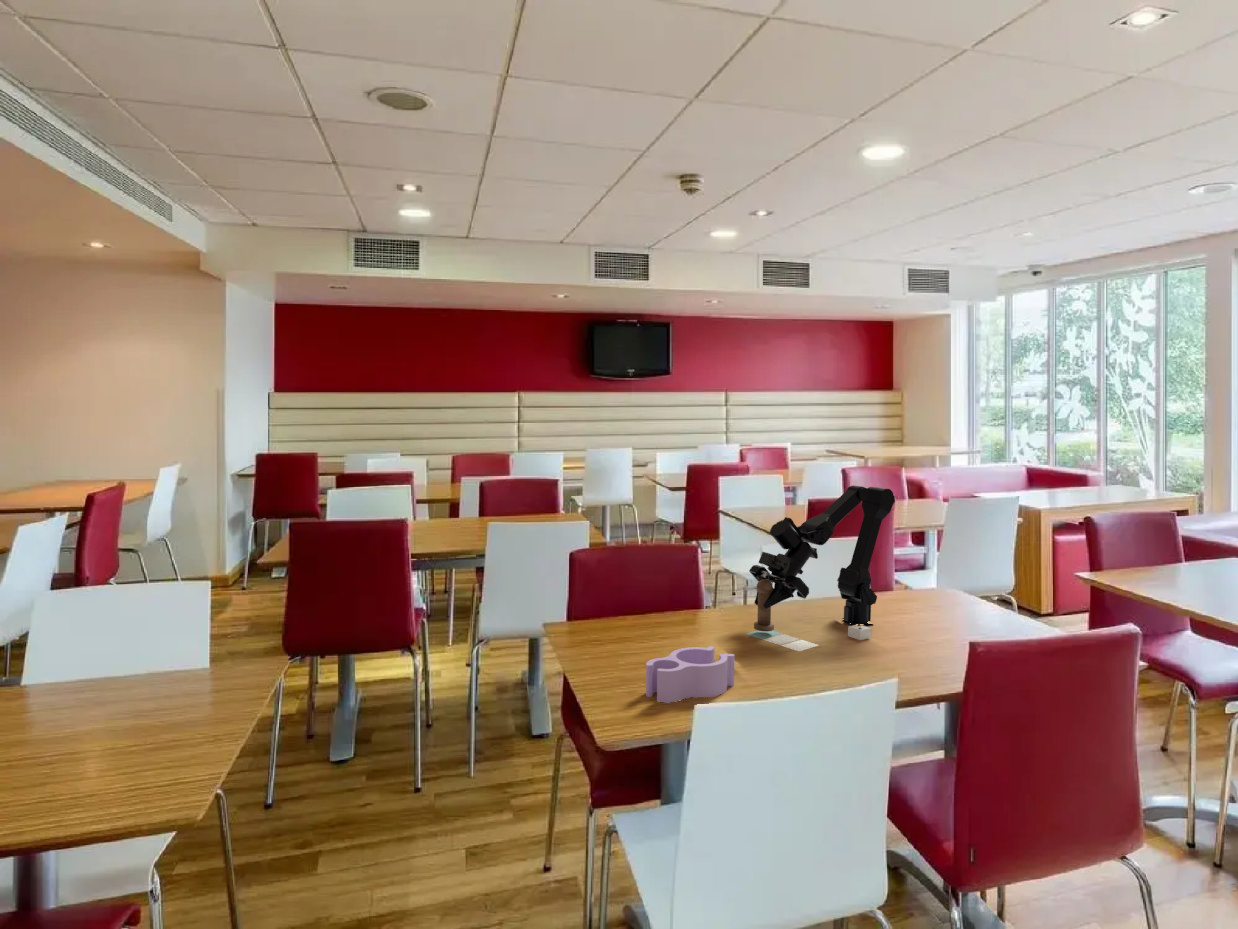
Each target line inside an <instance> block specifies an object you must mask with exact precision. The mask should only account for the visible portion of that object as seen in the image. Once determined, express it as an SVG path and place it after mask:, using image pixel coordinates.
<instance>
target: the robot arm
mask: <svg viewBox="0 0 1238 929" xmlns="http://www.w3.org/2000/svg"><path fill="white" fill-rule="evenodd" d="M895 496H896V495H894V492H893V491H892V490H891V489H890V488H884V487H877V486H868V487H865V486H859V485H854V484H853V485H850V486H848V487H847V489H846V491H845V492H844V493H842V495H840V496H839V497H838V498H837V499H836V500H835V501H834V502H833V503H832V504H831V505H829V506H828V507H827V508H826V509H825V510H824V511H823V512H821V513H820V514H818V515H815V516H813V517H811V518H809V519H806V521H804V522H802V523H801V525H798V526H797V525H796V524H795V522H794V520H793V519H792V517H784V519H782V520H780V521H777V522H776V523H775V524H772V526H771V527H770V530H769V534H770V535H771V537H772V538H773V540H775V541H776V542H777V543H778V545H779V547H781V548H782V549H783V550H786V552H785V553H784V554H783V553H778V554H772V553H769V552H765V551H762V552H761V554H760V558H759V560H758V564H753V565H752V566H751V567H750V569H749V570H748V571H749V573H750V574H751V575H752V576H753V577H754V579H755V580H756V581H757V583H758V582H759V581H760V580H763V579H766V580H769V581H770V582H771V583H772V585H774V586H773V590H772V592H771V594H770V596H769V597H768V599H767V600H766V602H765V604H764V608H766V609H767V608H769V607H771V608H772V607H773V606H775V605H777V604H779V603H780V602H783V601H786V600H788V599H789V598H794V597H795V595H794V593H795V591H797V592H796V596H797V597H799V598H800V599H803V600H805V599H806V598H807V597H808V595H809V594H810V588H809V586H807V584H806V583H805V582H804V580H802V578H801V577H798V576H797V575H802V574H803V573H804V571H803V570H802V569H803V567H804V566H805V564H806V563H807V562H808V560H809V559H810V558H812V559H816V560H817V559H818V558H819V556H818V548H816V547H812V545H817V546H823V545H825V544H826V543H827V542H828V541H829V540H830V538H831V537H832V536H833V534H834V530H835V528H836V526H837V525H838V524H839V523H840V522H842V520H844V518H845V517H846V516H847V515H849V514H850V513H851V512H852V511H853V510H854V509H855V508H856V507H857V506H858V505H859V504H861V508H862V509H861V510H862V513H863V518H862V522H861V525H860V529H859V533H858V536H857V540H856V544H855V547H854V549H853V554H852V558H851V560H850V564H849V565H847V566H846V567H841V568H840V570H839V576H838V578H837V580H836V581H837V589H838V591H839V593H840V597H841V599H842V600H845V605H844V606H843V617H842V619H844V620H845V621H847V622H849V623H851V624H853V625H856V624H868V623H867V622H868V621H871V619H872V618H871V616H872V615H871V614H872V613H871V612H872V605H875V604H876V603H877V599H878V595H877V594H876V593H875V592H874V591H873V589H872V588H871V581H872V578H871V574H870V570H869V568H870V564H871V561H872V557H873V554H874V551H875V547H876V546H875V545H876V542H877V539H878V536H879V532H880V528H881V525H882V522H883V520H884V519H885V518H886V517H887V516H888V515H889V514H890V513H891V512H892V508H893V506H894V504H895V499H896V497H895ZM811 544H812V545H811ZM759 564H760V565H759ZM761 565H764V566H761ZM765 566H767V568H766V567H765ZM767 569H768V570H767ZM754 599H755V600H754V604H755V606H758V591H757V593H756V596H755V598H754ZM842 619H841V620H842ZM845 621H844V622H845ZM847 622H846V623H847ZM871 622H872V621H871ZM849 623H848V624H849ZM851 624H850V625H851ZM853 625H852V626H853Z"/></svg>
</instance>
